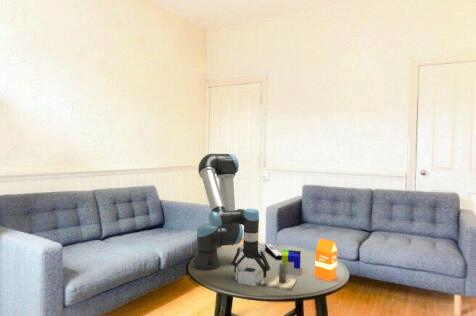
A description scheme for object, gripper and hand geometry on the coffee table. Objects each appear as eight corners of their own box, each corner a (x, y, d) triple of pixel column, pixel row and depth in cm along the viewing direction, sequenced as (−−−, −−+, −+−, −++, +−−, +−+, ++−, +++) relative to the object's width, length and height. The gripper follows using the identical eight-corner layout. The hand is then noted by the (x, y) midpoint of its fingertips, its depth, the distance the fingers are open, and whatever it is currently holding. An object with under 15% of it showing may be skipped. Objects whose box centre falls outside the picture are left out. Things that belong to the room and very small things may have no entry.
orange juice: (330, 281, 173) (331, 243, 172) (314, 276, 179) (315, 239, 178) (336, 277, 179) (337, 240, 178) (321, 272, 185) (322, 236, 184)
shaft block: (267, 286, 165) (267, 265, 164) (273, 277, 176) (274, 258, 176) (291, 290, 160) (292, 269, 160) (296, 281, 172) (297, 261, 171)
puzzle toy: (299, 275, 181) (300, 256, 180) (281, 273, 183) (281, 255, 182) (300, 268, 191) (300, 251, 190) (282, 266, 193) (283, 249, 192)
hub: (238, 283, 168) (238, 271, 167) (244, 276, 176) (244, 265, 176) (255, 286, 164) (255, 274, 164) (260, 279, 173) (261, 268, 173)
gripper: (225, 238, 170) (224, 279, 171) (272, 245, 161) (271, 288, 162) (230, 235, 177) (230, 274, 178) (276, 241, 168) (275, 282, 169)
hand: (249, 281), depth 170 cm, fingers open, 13 cm apart
